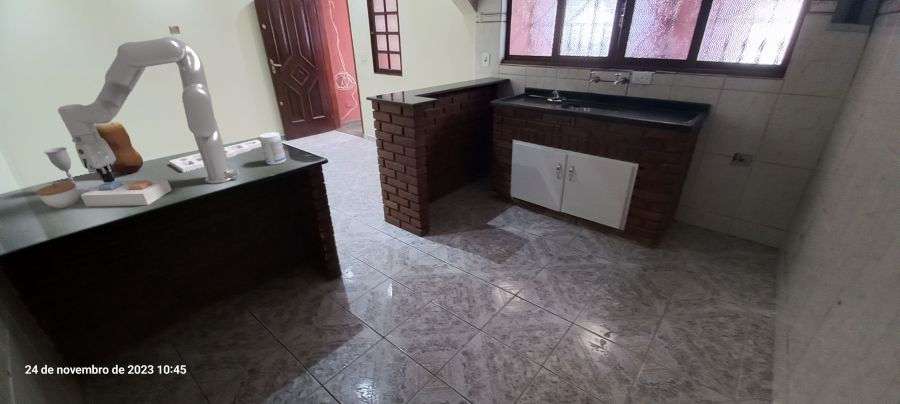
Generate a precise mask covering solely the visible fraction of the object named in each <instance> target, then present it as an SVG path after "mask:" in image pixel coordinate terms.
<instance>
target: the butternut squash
mask: <svg viewBox="0 0 900 404" xmlns="http://www.w3.org/2000/svg"><path fill="white" fill-rule="evenodd" d="M94 125H95V127H96V129H97V131H98V133H99V135H100V137H101V138H103V139H104V140H105V141H106V142H107V144H108V145H109V147H110V148H111V150H112V152H113V153H114V155H115V157H116V161H115V162H114V164H113V165H111V171H110V172H111V173H113V174H118V175H124V174H127V175H128V174H134V173H136V172H137V171H139V170H140V169H141V168H142V166H143V164H144V159H143V157H142V155H141V154H140V152H139V151H137V150H136V149H135V148H134V147H133V145H132V141H131V138H130V136H129V135H130V134H129V133H128V132H127V130H126V128H125V126H124V125H122V124H121V123H120V122H118V121H110V122H108V123H103V124H94Z"/></svg>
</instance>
